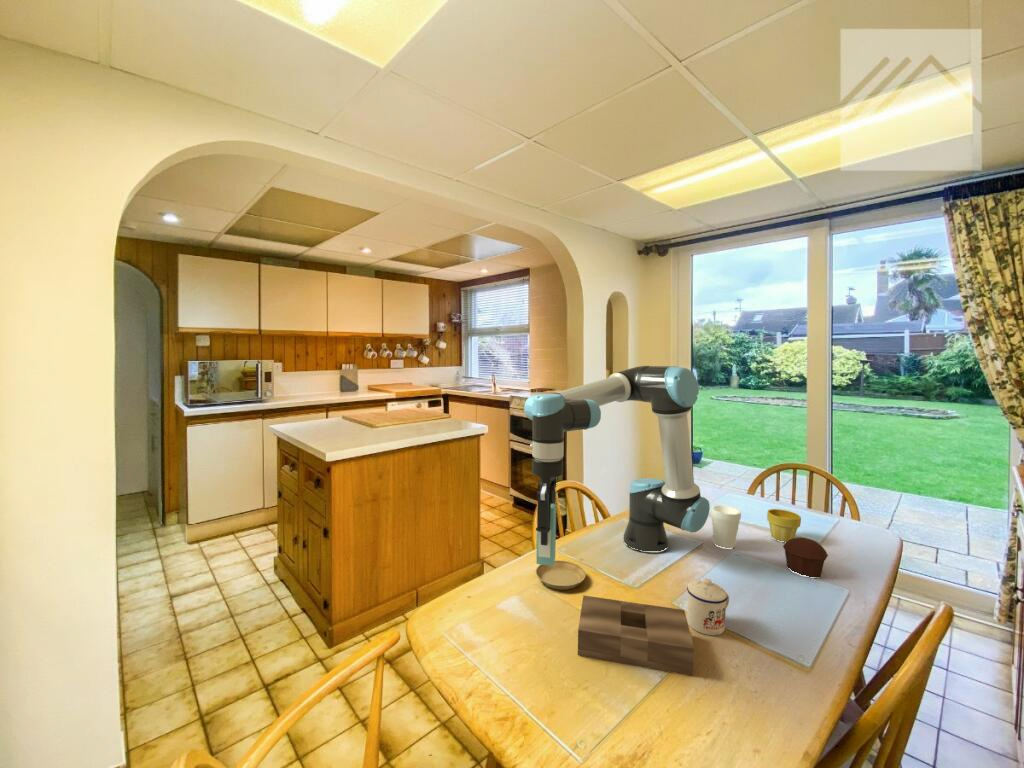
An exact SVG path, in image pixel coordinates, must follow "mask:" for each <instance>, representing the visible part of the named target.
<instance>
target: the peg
mask: <svg viewBox="0 0 1024 768" xmlns="http://www.w3.org/2000/svg"><path fill="white" fill-rule="evenodd" d="M556 518H557V503H556V502H555V503H553V504H552V503H551V512H550V530H551V552H550V558H547V557H539V531H536V565H548V566H553V564H554V561H556V539H557V538H556V537H557V535H556V534H557V522H556ZM537 527H538V506H537V508H536V528H537Z"/></svg>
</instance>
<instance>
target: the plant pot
mask: <svg viewBox="0 0 1024 768" xmlns="http://www.w3.org/2000/svg"><path fill="white" fill-rule="evenodd" d="M766 514H767V515H766V517H767V518H766V519H767V521H768V523H769V529H770V536H771V538H772V537H773V538H774V539H776V540H779V541H784V542H787V541H788V540H790V539H793V538H796V533H797V531H798V528H800V527H801V523H802V522H801V521H802V516H801V515H800V514H798V513H796V512H794V511H790V510H786V509H781V508H770V509H768V510H767V513H766ZM774 539H773V540H774Z"/></svg>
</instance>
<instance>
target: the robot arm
mask: <svg viewBox="0 0 1024 768" xmlns="http://www.w3.org/2000/svg"><path fill="white" fill-rule="evenodd" d="M699 390H700V389H699V383H698V380H697V377H696V376H695V373H693V372H692V371H691V370H690V369H688V368H686V367H680V366H674V365H673V366H672V365H671V366H670V365H669V366H667V365H666V366H663V365H661V366H659V365H657V366H656V365H655V366H654V365H642V366H641V365H640V366H635V367H631V368H628V369H625V370H621V371H616V372H614V373H612V374H610V375H609V376H608V377H607V378H604V379H600V380H597V381H593V382H589V383H586V384H582V385H578V386H576V387H575V386H574V387H571V388H568V389H565V390H560V391H557V392H553V393H538V394H532V395H531V396H529V397H528V398H527V399H526V400H525V403H524V408H523V410H524V415H525V416H526V418H527V419H529V420H531V421H532V422H531V423H532V430H531V432H532V438H531V439H532V443H530V445H529V447H530V448H532V449H531V450H532V452H531V454H532V457H533V458H532V459H531V473H532V474H533V475H534V476H536V477H539V478H540V480H539V482H538V483H537V492H536V495H537V507H538V527H537V526H536V527H535V531H536V532H537V531H539V557H547V558H550V552H551V530H550V512H551V503H552V504H553V503H556V495H557V494H556V488H557V478H560V477H561V476H562V475H563V474H564V460H563V458H564V455H565V454H564V453H565V452H564V450H565V448H564V443H565V442H564V441H565V438H564V437H565V433H567V432H572V431H573V432H574V431H581V430H585V431H586V430H588V429H592V428H593V429H594V427H597V426H598V425H599V423H600V421H601V419H602V416H601V415H602V411H601V408H600V407H601V406H604V405H606V404H610V403H611V404H612V403H614V402H617V403H624V402H626V401H627V402H628V401H631V402H633V401H635V402H643V403H644V402H645V403H650V405H651V412H652V413H653V414H654V415H655V416H657V420H658V422H657V423H658V427H659V429H658V431H659V437H660V439H659V440H660V447H661V456H662V462H663V463H662V464H663V471H664V473H663V474H664V480H663V479H661V478H653V477H646V478H637V479H634V480H632V481H631V482H630V486H629V492H628V493H629V506H628V507H629V512H628V514H629V515H628V516H629V517H628V522H627V525H626V527H625V530H624V532H623V540H624V541H623V543H624V542H625V543H626V544H627V545H628V546H630V547H632V548H635V549H638V550H642V551H661V550H664V549H665V548H667V547H668V548H669V540H668V539H669V538H668V535H667V533H666V529H665V525H664V524H666V525H670V526H671V527H674V528H678V529H680V530H681V531H686V532H689V533H697V532H699V531H701V530H702V528H703V527H704V526H705V524H706V523H707V520H708V518H709V515H710V511H711V505H710V502H709V500H708V499H707V498H706V497H704V496H701V488H700V487H699V485H697V483H695V481H694V479H695V478H694V470H693V469H694V468H693V461H692V459H693V458H692V449H691V448H692V447H691V440H690V428H689V420H688V414H689V413H690V411H692V410H693V407H692V406H694V405H695V404H696V403H697V402H698V401H697V400H698V398H699V397H698V395H699ZM557 521H558V518H557V517H556V523H557ZM628 546H627V547H628Z"/></svg>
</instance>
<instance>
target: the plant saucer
mask: <svg viewBox="0 0 1024 768" xmlns="http://www.w3.org/2000/svg"><path fill="white" fill-rule="evenodd" d="M535 575H536V577H537V578H538V579H539V580H540V582H542V583H543V584H544V585H545V586H546V587H548V588H551V589H554V590H559V591H566V590H572V589H574V588H576V587H578V586H579V585H580V584H581V583H582V582H583V581H584V580H585V579H586V575H587V574H586V571H585V569H584V568H583V567H582V566H580V565H578V563H577V564H576V563H574V562H571V561H566V560H555V561H554V564H553V566H548V565H540V564H538V566H537V567H536V569H535Z"/></svg>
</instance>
